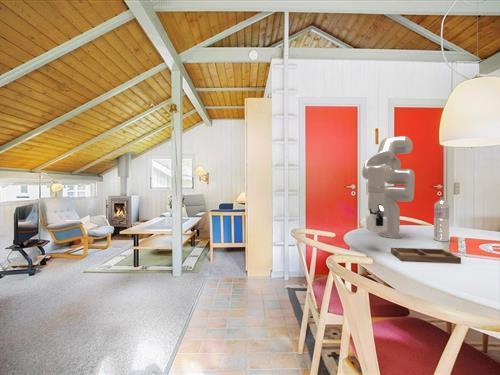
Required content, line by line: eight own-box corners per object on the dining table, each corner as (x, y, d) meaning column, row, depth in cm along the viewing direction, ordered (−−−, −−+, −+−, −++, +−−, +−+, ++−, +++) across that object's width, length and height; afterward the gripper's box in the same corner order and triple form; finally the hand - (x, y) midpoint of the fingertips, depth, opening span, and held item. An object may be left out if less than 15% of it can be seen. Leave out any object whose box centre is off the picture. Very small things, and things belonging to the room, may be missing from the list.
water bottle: (451, 242, 132) (452, 198, 131) (437, 241, 133) (438, 198, 132) (444, 239, 139) (445, 197, 138) (431, 238, 140) (431, 197, 139)
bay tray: (390, 252, 116) (390, 247, 116) (442, 254, 112) (443, 249, 112) (402, 261, 104) (402, 255, 104) (460, 263, 100) (461, 257, 100)
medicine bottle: (387, 231, 117) (387, 208, 116) (373, 232, 117) (372, 208, 117) (379, 228, 124) (379, 206, 124) (366, 228, 125) (366, 206, 124)
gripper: (363, 188, 129) (363, 220, 130) (374, 191, 112) (374, 228, 113) (377, 188, 127) (378, 220, 129) (391, 191, 110) (391, 228, 111)
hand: (376, 223), depth 121 cm, fingers closed on medicine bottle, 7 cm apart
